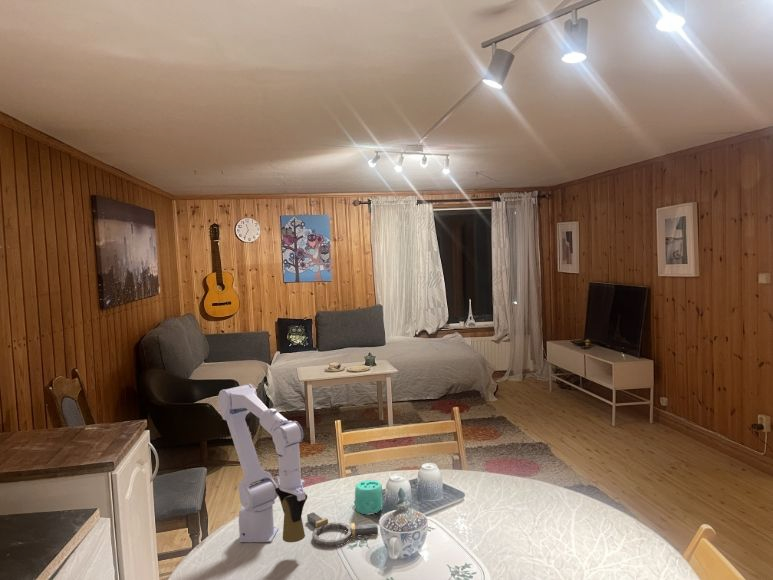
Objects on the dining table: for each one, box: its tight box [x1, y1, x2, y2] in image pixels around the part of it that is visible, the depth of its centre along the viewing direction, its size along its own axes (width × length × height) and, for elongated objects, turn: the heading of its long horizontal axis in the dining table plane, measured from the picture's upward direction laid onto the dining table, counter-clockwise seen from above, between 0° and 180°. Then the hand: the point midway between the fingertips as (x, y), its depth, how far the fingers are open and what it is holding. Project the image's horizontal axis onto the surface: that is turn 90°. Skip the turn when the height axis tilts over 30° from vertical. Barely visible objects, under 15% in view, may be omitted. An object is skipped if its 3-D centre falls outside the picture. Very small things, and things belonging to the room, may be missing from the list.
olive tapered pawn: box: [281, 495, 306, 543], centre depth 152 cm, size 6×6×11 cm
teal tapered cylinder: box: [354, 479, 383, 515], centre depth 177 cm, size 8×8×8 cm
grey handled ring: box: [306, 512, 379, 548], centre depth 163 cm, size 22×16×3 cm
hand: (292, 517), depth 152 cm, fingers closed on olive tapered pawn, 5 cm apart
